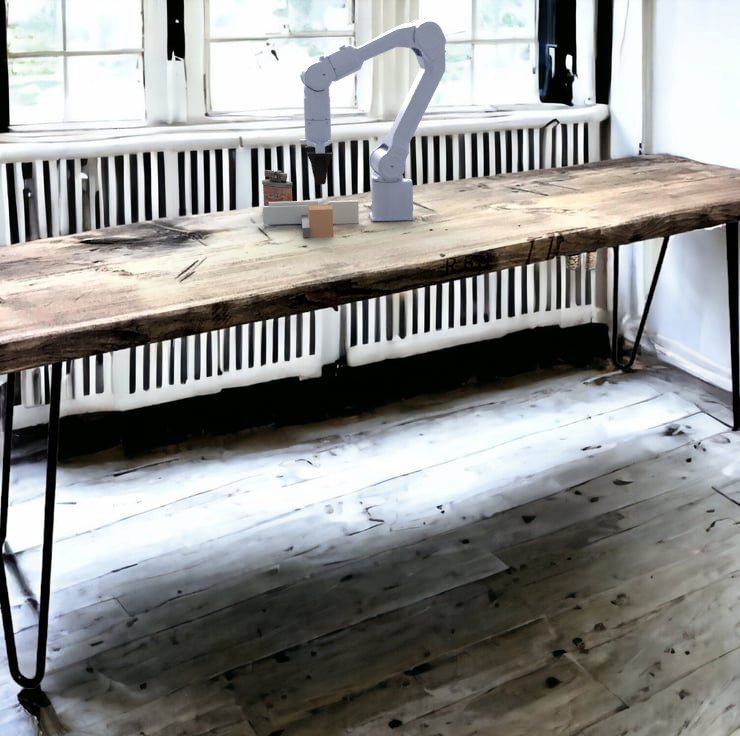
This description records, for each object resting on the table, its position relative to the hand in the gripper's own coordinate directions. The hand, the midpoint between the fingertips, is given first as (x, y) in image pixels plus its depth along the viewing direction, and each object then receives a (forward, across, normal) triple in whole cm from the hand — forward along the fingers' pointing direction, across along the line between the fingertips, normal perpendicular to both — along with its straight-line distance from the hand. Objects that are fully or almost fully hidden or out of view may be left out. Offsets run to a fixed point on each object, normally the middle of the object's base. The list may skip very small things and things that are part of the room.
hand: (319, 180), depth 231 cm
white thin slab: (+9, +1, -2) cm, 10 cm away
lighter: (+10, -10, -9) cm, 17 cm away
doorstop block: (+9, +12, -1) cm, 15 cm away
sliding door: (+9, +8, -8) cm, 14 cm away
